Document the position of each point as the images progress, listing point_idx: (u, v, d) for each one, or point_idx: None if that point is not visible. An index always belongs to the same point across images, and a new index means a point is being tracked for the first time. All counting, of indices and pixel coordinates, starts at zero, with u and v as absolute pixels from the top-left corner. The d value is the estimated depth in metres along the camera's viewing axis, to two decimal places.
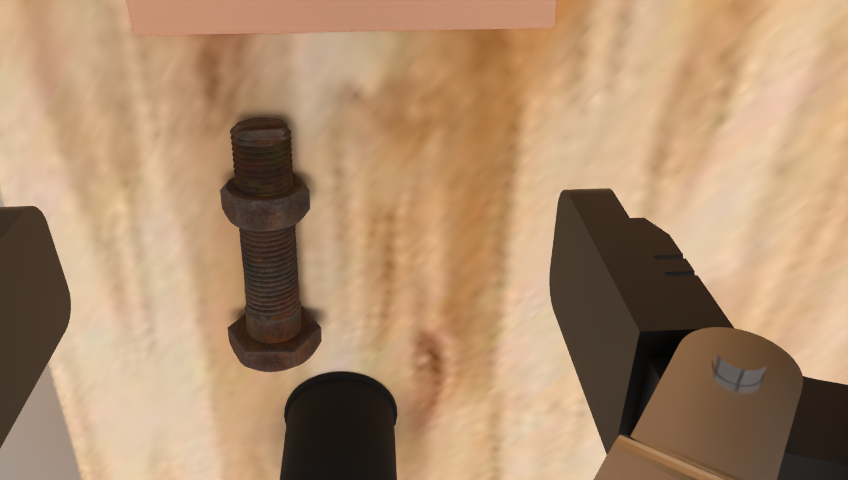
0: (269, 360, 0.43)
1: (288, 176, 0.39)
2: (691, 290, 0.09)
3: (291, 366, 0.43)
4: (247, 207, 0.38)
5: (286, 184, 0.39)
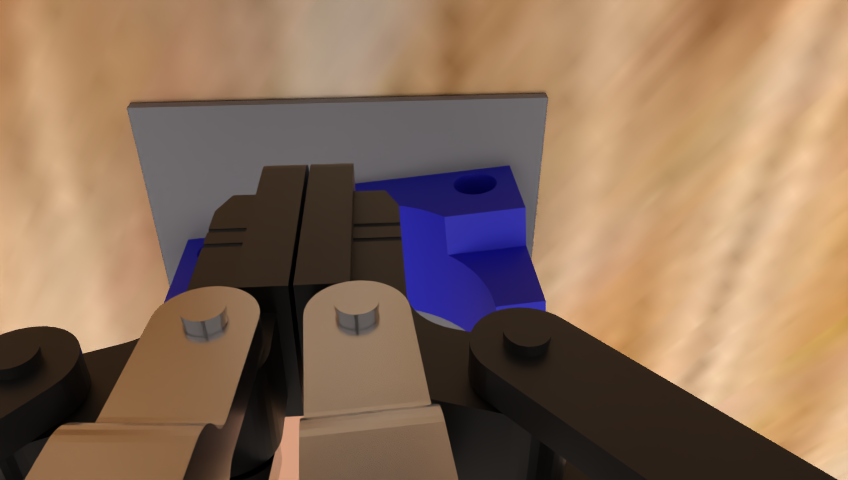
0: None
1: None
2: (388, 253, 0.10)
3: None
4: None
5: None
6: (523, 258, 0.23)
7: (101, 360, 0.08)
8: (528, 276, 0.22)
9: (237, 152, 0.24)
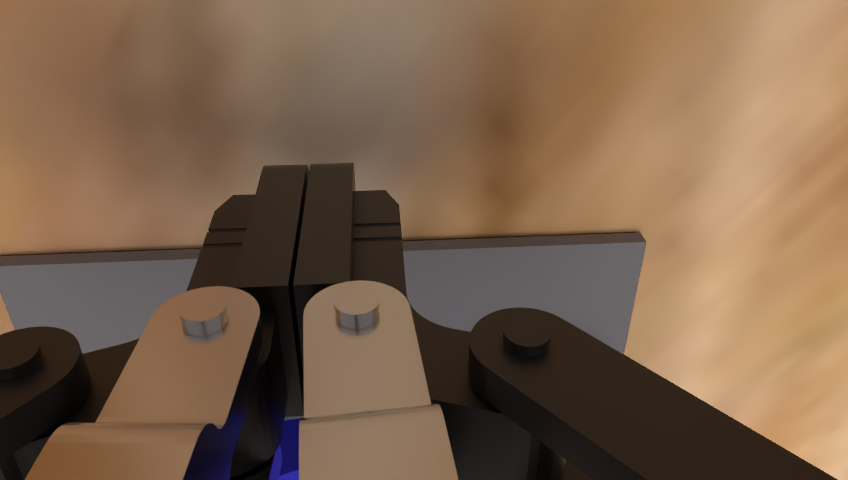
0: None
1: None
2: (388, 253, 0.10)
3: None
4: None
5: None
6: None
7: (102, 360, 0.08)
8: None
9: None
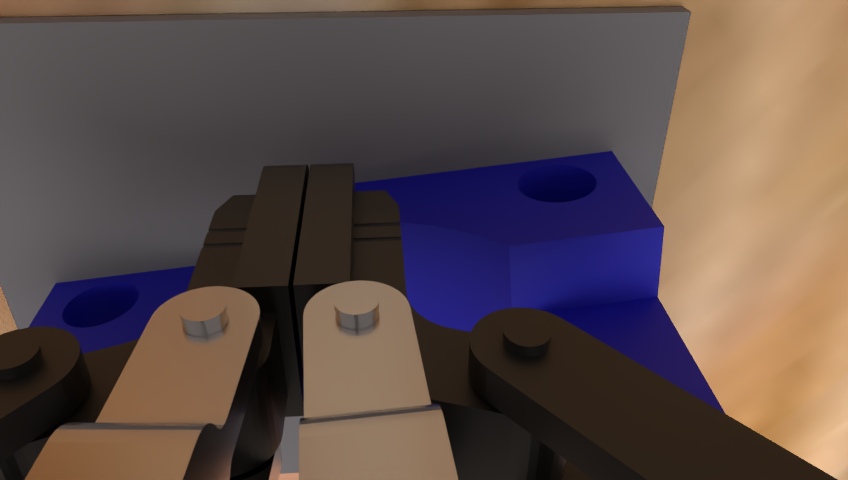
0: None
1: None
2: (387, 253, 0.10)
3: None
4: None
5: None
6: (658, 323, 0.12)
7: (102, 360, 0.08)
8: (678, 362, 0.11)
9: (121, 115, 0.13)
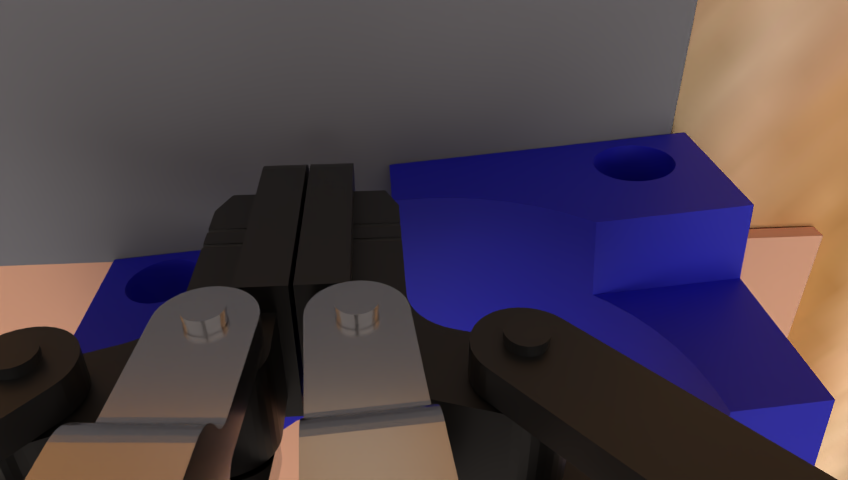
0: None
1: None
2: (388, 253, 0.10)
3: None
4: None
5: None
6: (745, 303, 0.12)
7: (101, 360, 0.08)
8: (772, 342, 0.11)
9: None
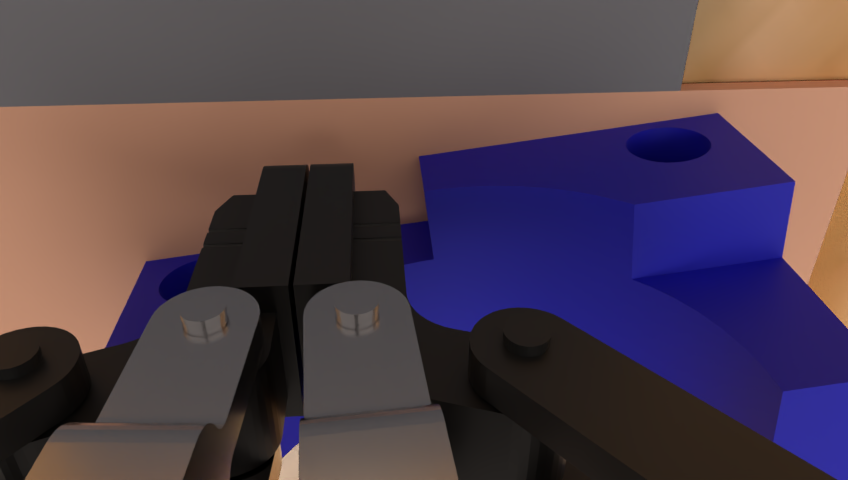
0: None
1: None
2: (388, 253, 0.10)
3: None
4: None
5: None
6: (789, 282, 0.12)
7: (101, 360, 0.08)
8: (821, 320, 0.11)
9: None
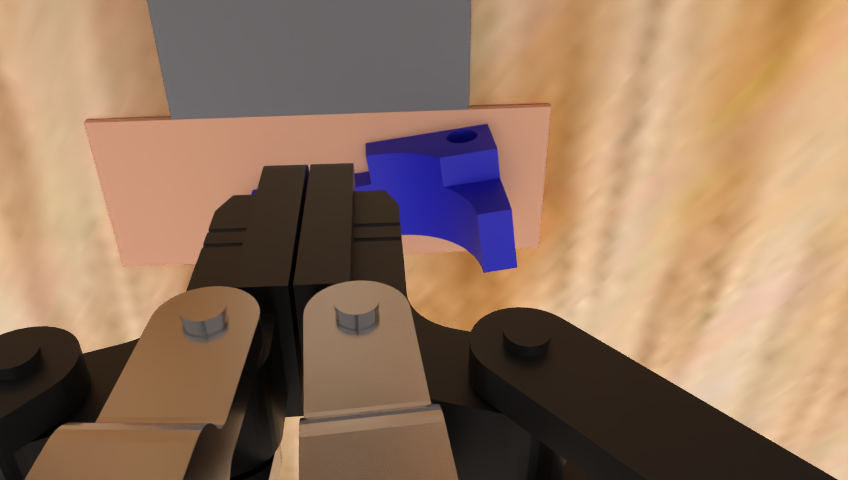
0: None
1: None
2: (388, 253, 0.10)
3: None
4: None
5: None
6: (497, 185, 0.32)
7: (101, 360, 0.08)
8: (500, 196, 0.31)
9: None
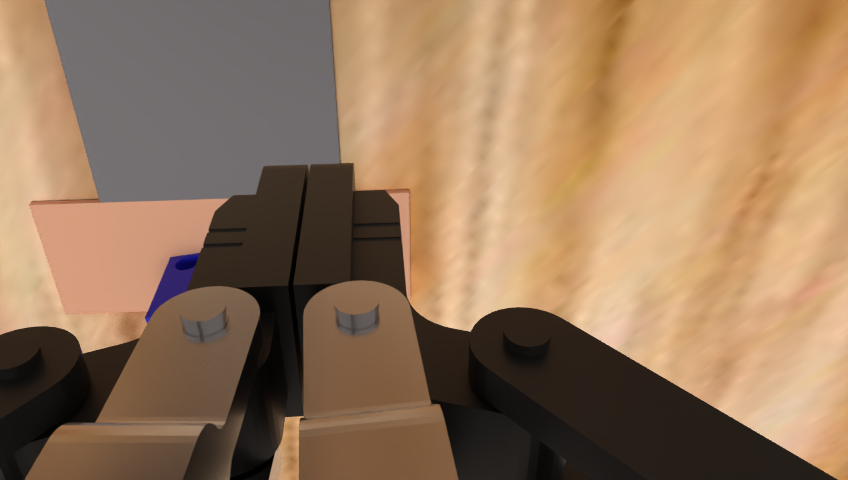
0: None
1: None
2: (388, 253, 0.10)
3: None
4: None
5: None
6: None
7: (101, 360, 0.08)
8: None
9: (119, 23, 0.36)
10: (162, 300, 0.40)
